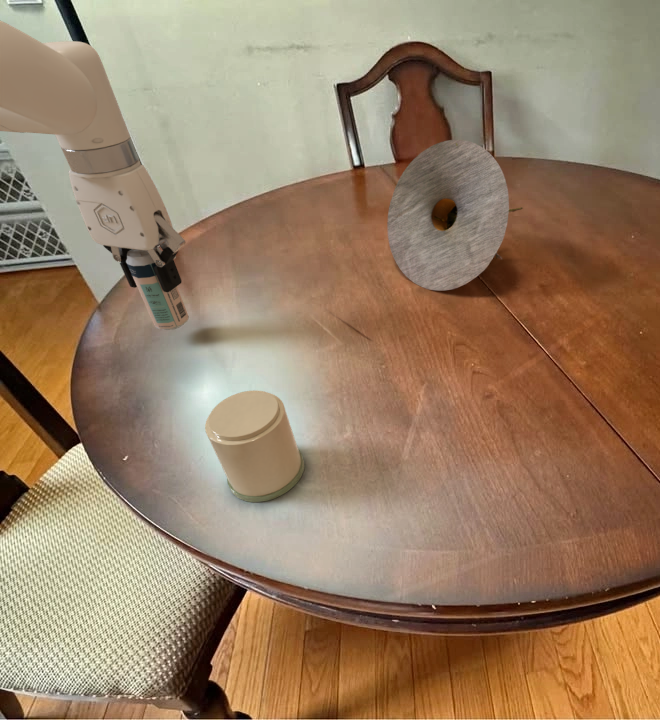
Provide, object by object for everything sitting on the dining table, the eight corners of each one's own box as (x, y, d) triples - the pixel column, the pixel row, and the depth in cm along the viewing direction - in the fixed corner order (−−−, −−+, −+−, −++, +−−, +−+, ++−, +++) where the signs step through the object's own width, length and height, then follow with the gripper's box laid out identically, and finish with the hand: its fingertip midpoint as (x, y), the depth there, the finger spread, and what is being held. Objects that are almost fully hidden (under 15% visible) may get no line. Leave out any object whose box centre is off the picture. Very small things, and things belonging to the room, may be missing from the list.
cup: (231, 512, 60) (202, 452, 54) (226, 458, 66) (199, 398, 60) (310, 487, 62) (290, 426, 56) (298, 437, 68) (279, 378, 62)
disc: (523, 323, 99) (569, 191, 98) (467, 297, 84) (521, 142, 84) (423, 293, 113) (463, 178, 113) (361, 267, 99) (406, 134, 98)
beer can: (184, 311, 87) (155, 240, 79) (194, 324, 84) (165, 251, 76) (151, 322, 84) (119, 250, 77) (160, 336, 81) (128, 262, 74)
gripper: (21, 161, 68) (88, 291, 79) (138, 171, 64) (190, 306, 75) (72, 143, 74) (127, 266, 85) (181, 152, 70) (223, 279, 81)
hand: (156, 284), depth 80 cm, fingers closed on beer can, 4 cm apart
